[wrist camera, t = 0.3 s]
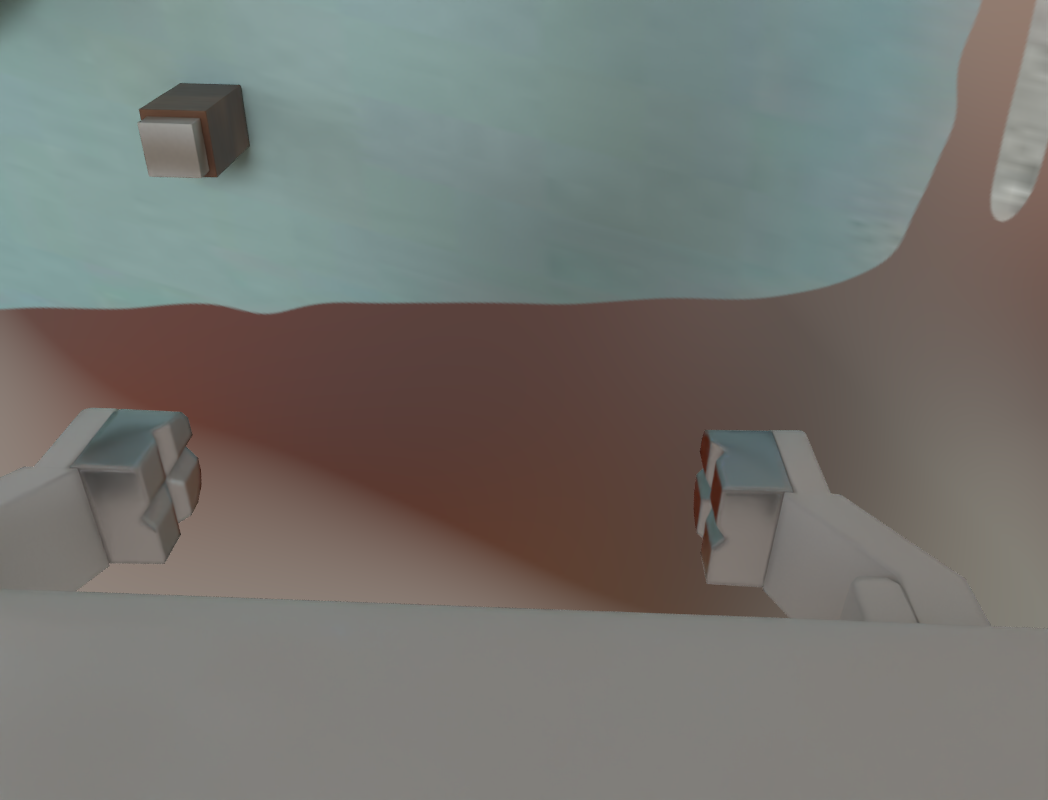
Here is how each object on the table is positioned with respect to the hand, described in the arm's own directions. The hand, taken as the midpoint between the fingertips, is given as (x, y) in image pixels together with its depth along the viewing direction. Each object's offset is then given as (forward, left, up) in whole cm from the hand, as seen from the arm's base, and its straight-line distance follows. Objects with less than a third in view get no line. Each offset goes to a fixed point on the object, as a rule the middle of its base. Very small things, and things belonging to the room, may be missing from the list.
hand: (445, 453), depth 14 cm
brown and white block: (+8, -21, -47) cm, 52 cm away
